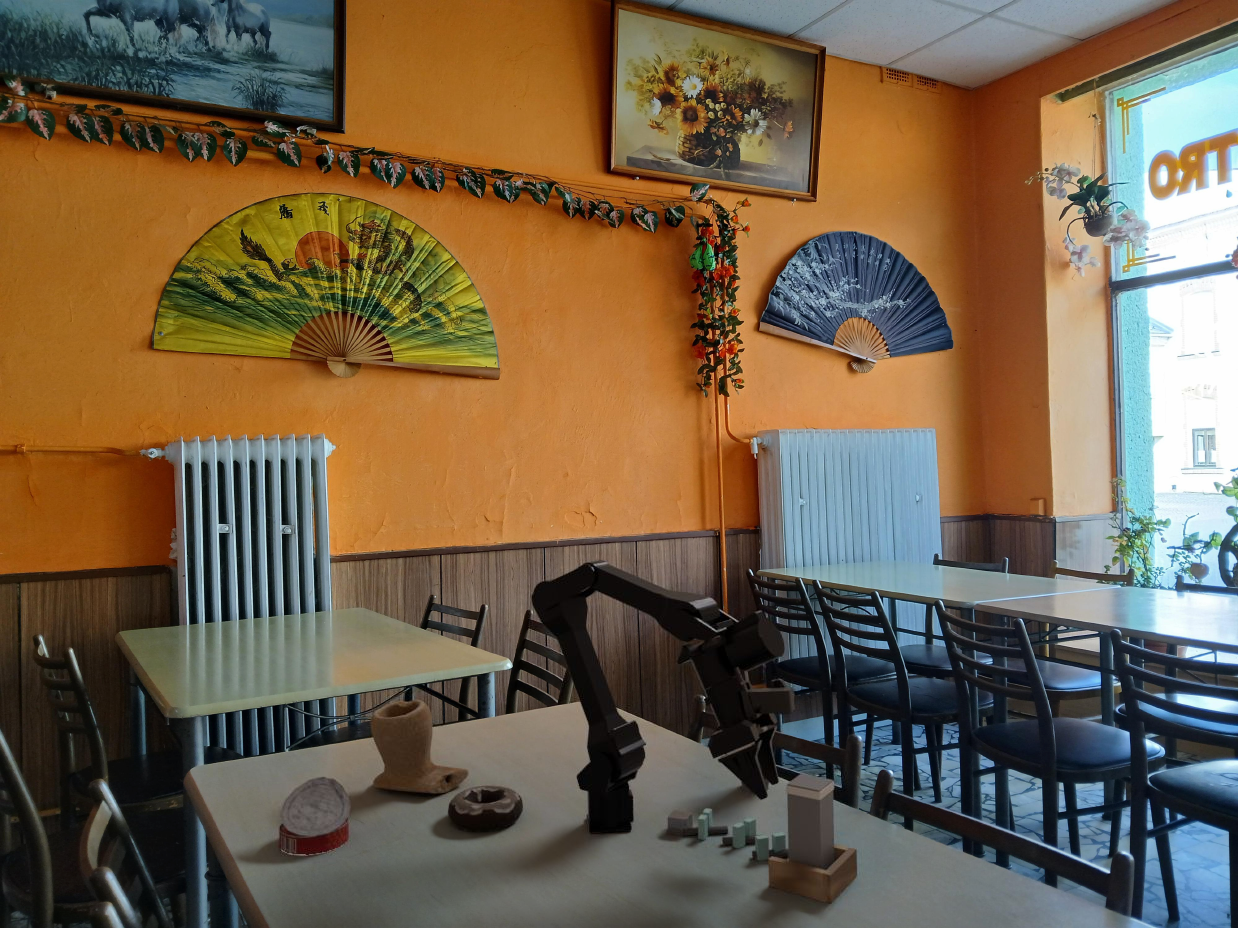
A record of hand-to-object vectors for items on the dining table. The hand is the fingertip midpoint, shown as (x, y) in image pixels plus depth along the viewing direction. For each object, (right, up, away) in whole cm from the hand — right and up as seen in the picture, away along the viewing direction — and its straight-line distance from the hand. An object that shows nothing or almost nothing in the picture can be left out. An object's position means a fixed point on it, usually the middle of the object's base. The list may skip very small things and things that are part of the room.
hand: (770, 790), depth 121 cm
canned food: (-66, -12, +11) cm, 68 cm away
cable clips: (-3, -11, +8) cm, 14 cm away
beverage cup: (+3, -11, +30) cm, 32 cm away
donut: (-42, -12, +19) cm, 47 cm away
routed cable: (-4, -11, +7) cm, 13 cm away
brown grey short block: (-11, -11, +13) cm, 20 cm away
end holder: (+5, -10, -4) cm, 12 cm away
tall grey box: (+5, -10, -4) cm, 12 cm away
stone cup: (-56, -12, +33) cm, 66 cm away
